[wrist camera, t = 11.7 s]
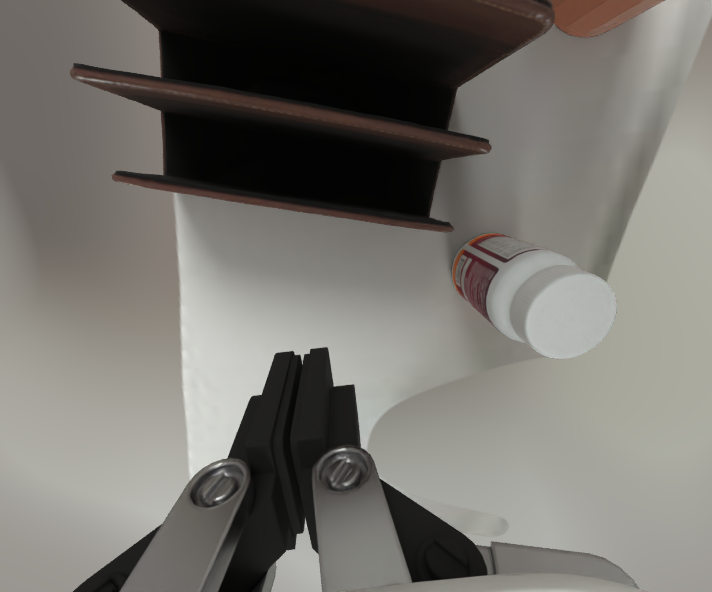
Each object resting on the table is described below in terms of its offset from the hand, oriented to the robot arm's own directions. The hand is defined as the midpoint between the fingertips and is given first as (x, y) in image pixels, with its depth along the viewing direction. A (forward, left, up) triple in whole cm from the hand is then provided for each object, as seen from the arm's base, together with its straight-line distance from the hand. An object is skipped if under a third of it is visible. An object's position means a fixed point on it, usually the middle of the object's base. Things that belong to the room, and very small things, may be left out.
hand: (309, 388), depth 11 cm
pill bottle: (+2, +13, -18) cm, 23 cm away
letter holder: (-10, 0, -18) cm, 21 cm away
